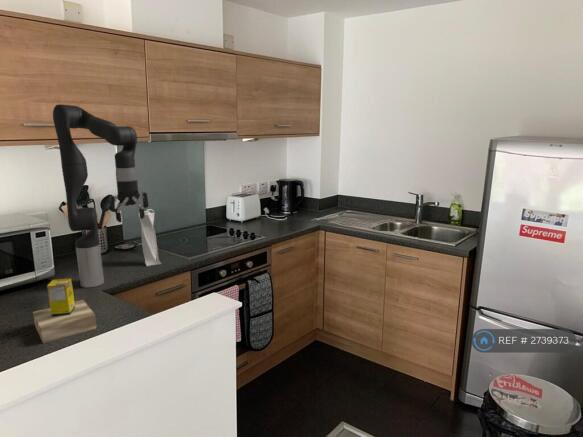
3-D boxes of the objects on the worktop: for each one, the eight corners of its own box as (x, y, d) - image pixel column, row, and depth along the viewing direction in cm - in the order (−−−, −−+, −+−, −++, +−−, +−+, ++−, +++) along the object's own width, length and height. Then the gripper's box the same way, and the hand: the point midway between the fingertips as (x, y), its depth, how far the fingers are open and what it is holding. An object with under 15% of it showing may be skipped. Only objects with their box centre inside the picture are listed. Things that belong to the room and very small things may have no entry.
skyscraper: (162, 265, 211) (157, 208, 205) (144, 268, 208) (139, 210, 201) (158, 260, 219) (154, 206, 212) (142, 263, 215) (136, 207, 209)
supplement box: (75, 307, 151) (71, 277, 149) (70, 314, 146) (66, 284, 143) (57, 309, 150) (52, 279, 148) (51, 316, 144) (46, 285, 142)
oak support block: (34, 325, 149) (32, 312, 148) (84, 312, 159) (83, 299, 158) (43, 343, 137) (40, 328, 136) (96, 328, 147) (94, 314, 146)
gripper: (141, 176, 175) (145, 216, 178) (104, 180, 166) (109, 221, 170) (148, 178, 169) (152, 219, 172) (110, 182, 160) (115, 224, 164)
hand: (130, 220), depth 171 cm, fingers open, 8 cm apart
